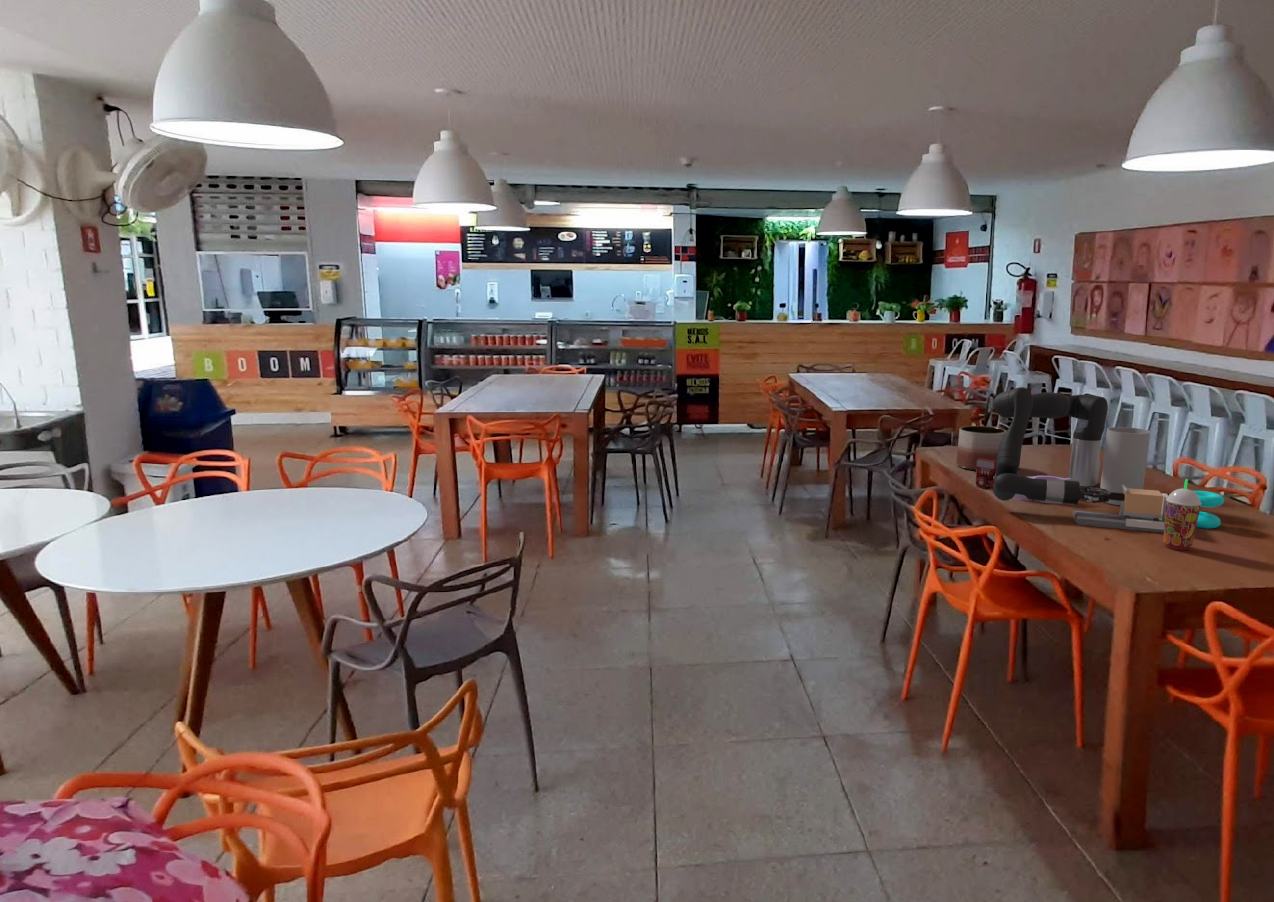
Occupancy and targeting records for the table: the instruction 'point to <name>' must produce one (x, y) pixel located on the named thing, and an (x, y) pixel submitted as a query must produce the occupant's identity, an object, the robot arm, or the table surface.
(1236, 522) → the table surface
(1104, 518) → the dock
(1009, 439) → the robot arm
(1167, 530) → the smoothie
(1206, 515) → the donuts
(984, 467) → the toy fire truck
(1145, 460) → the cylinder vase
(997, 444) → the planter
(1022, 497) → the clip
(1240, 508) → the table surface
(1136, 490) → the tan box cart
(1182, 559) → the table surface
